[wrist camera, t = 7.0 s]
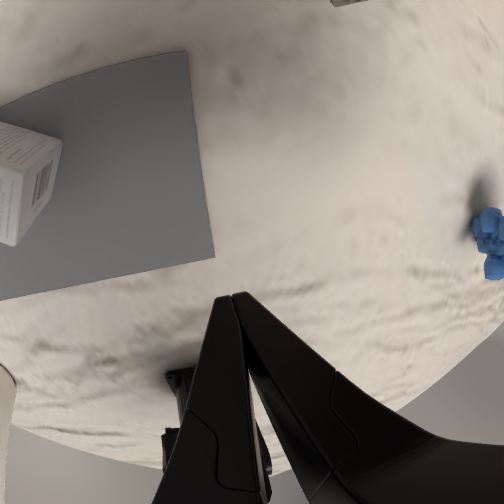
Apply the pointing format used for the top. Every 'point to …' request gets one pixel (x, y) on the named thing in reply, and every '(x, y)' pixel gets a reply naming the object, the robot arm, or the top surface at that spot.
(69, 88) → the rubber mat
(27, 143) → the skincare box
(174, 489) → the robot arm
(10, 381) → the alcohol
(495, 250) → the grapes
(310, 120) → the top surface
